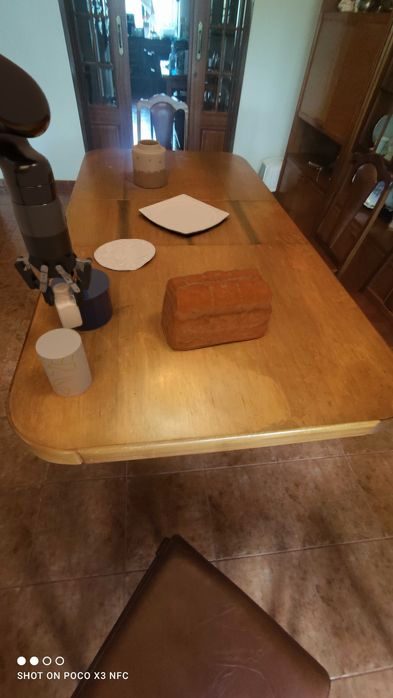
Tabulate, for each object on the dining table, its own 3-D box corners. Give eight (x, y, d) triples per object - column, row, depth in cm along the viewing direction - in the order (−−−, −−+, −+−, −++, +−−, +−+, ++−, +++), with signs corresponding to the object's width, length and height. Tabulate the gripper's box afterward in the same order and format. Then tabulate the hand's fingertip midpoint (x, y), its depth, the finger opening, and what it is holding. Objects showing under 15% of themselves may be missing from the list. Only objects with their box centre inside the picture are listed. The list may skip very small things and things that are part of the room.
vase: (170, 180, 155) (170, 140, 143) (159, 191, 145) (159, 149, 133) (141, 175, 158) (139, 135, 146) (128, 185, 147) (125, 144, 135)
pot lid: (56, 309, 71) (49, 289, 67) (47, 276, 79) (40, 256, 75) (116, 296, 76) (114, 276, 72) (102, 266, 84) (99, 247, 80)
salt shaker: (83, 325, 69) (74, 290, 62) (64, 331, 68) (53, 295, 61) (78, 315, 72) (68, 279, 65) (60, 320, 70) (48, 284, 63)
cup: (44, 392, 66) (26, 353, 58) (65, 363, 72) (50, 324, 63) (80, 401, 65) (67, 363, 57) (98, 371, 71) (88, 333, 62)
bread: (270, 338, 82) (286, 290, 72) (170, 354, 76) (171, 305, 65) (249, 304, 91) (261, 258, 81) (158, 317, 85) (157, 268, 74)
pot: (67, 336, 78) (57, 305, 71) (58, 305, 86) (49, 275, 79) (118, 323, 82) (113, 293, 75) (105, 295, 90) (100, 266, 83)
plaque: (167, 251, 108) (167, 247, 107) (127, 278, 96) (127, 274, 95) (123, 235, 116) (123, 232, 115) (81, 259, 104) (80, 255, 103)
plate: (133, 216, 126) (132, 209, 124) (183, 198, 141) (183, 192, 139) (185, 243, 114) (185, 236, 112) (233, 220, 129) (234, 214, 127)
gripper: (-10, 233, 50) (25, 315, 63) (83, 236, 52) (99, 315, 64) (5, 213, 55) (35, 292, 68) (90, 216, 57) (103, 293, 69)
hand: (66, 303), depth 66 cm, fingers closed on salt shaker, 5 cm apart
